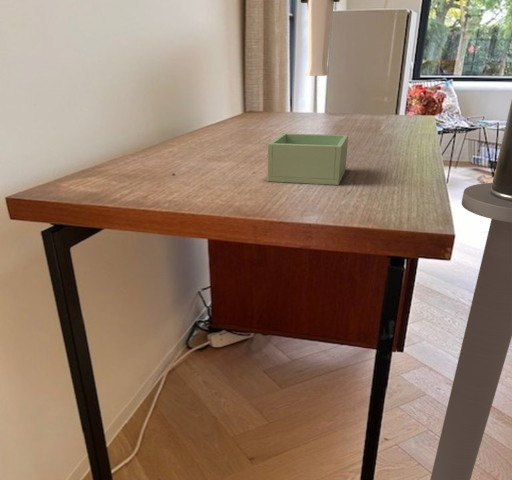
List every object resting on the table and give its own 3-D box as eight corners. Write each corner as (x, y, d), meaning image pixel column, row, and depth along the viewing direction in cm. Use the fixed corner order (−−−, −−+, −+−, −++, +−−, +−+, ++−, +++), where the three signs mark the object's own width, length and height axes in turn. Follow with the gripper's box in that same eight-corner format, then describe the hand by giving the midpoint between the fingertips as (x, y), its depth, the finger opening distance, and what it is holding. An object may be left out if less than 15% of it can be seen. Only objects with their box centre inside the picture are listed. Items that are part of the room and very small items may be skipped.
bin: (345, 170, 89) (348, 135, 86) (338, 185, 79) (341, 146, 76) (281, 167, 92) (282, 133, 89) (267, 181, 82) (267, 143, 79)
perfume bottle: (331, 74, 86) (337, -34, 78) (330, 75, 82) (336, -38, 74) (304, 74, 87) (308, -33, 79) (302, 76, 83) (305, -37, 75)
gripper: (270, -147, 69) (270, 2, 78) (375, -159, 66) (363, -2, 74) (283, -131, 75) (282, 5, 84) (380, -141, 72) (368, 2, 80)
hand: (320, 1), depth 79 cm, fingers closed on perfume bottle, 4 cm apart
